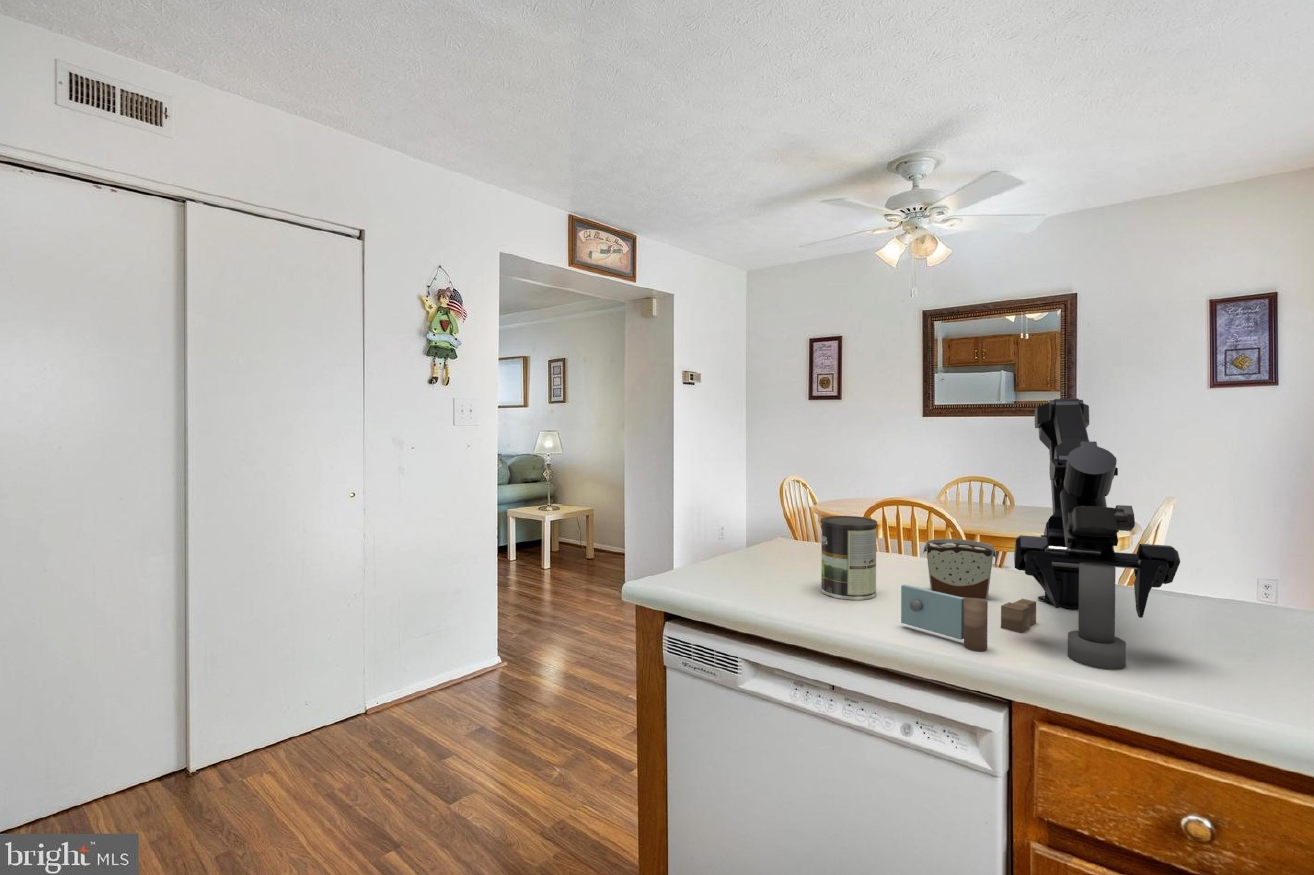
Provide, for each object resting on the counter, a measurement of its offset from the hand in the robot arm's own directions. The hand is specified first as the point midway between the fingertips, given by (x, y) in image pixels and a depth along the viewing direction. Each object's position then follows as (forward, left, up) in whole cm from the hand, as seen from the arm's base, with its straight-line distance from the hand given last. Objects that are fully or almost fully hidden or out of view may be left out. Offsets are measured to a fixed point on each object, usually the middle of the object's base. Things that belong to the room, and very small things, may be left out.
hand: (1098, 611), depth 81 cm
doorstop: (-1, -1, -7) cm, 7 cm away
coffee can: (+12, -39, -7) cm, 42 cm away
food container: (-7, -32, -7) cm, 34 cm away
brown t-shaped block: (+3, -12, -7) cm, 15 cm away
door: (+14, -15, -6) cm, 22 cm away
